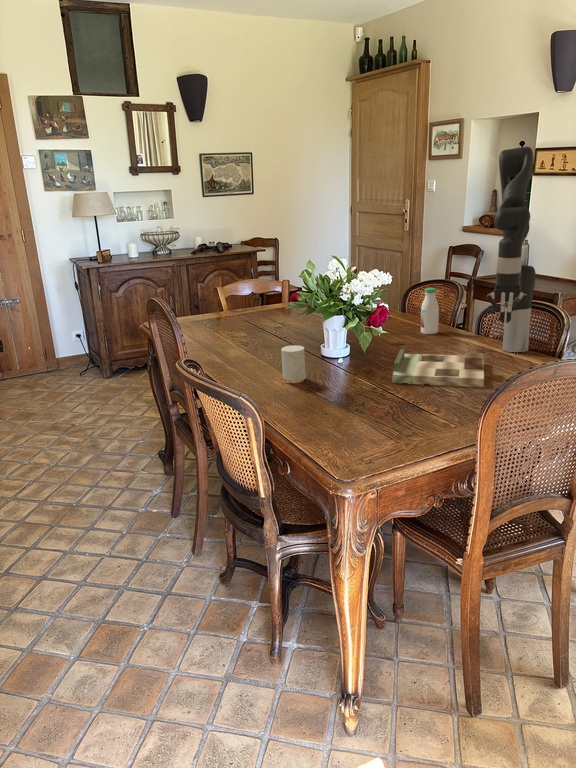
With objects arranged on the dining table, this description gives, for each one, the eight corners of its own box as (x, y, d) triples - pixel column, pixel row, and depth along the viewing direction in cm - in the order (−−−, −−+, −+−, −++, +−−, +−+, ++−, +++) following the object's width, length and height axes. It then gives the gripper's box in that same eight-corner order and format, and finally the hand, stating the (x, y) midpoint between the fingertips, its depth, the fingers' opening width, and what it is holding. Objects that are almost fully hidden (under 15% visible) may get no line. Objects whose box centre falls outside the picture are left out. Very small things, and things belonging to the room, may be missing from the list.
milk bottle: (440, 331, 263) (441, 287, 257) (434, 335, 257) (436, 290, 251) (424, 329, 267) (425, 286, 261) (418, 333, 261) (418, 289, 255)
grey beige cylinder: (289, 385, 204) (287, 353, 200) (279, 379, 211) (277, 348, 207) (309, 381, 208) (308, 348, 204) (299, 375, 215) (297, 344, 211)
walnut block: (482, 364, 205) (482, 353, 204) (482, 369, 200) (482, 358, 199) (464, 363, 207) (465, 352, 206) (464, 368, 202) (464, 357, 200)
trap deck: (483, 363, 215) (484, 348, 213) (483, 387, 192) (484, 370, 190) (401, 361, 224) (401, 346, 222) (392, 383, 201) (392, 366, 199)
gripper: (529, 268, 191) (525, 320, 197) (486, 269, 195) (484, 319, 201) (531, 272, 184) (527, 325, 190) (487, 272, 188) (484, 324, 194)
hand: (505, 322), depth 195 cm, fingers closed
